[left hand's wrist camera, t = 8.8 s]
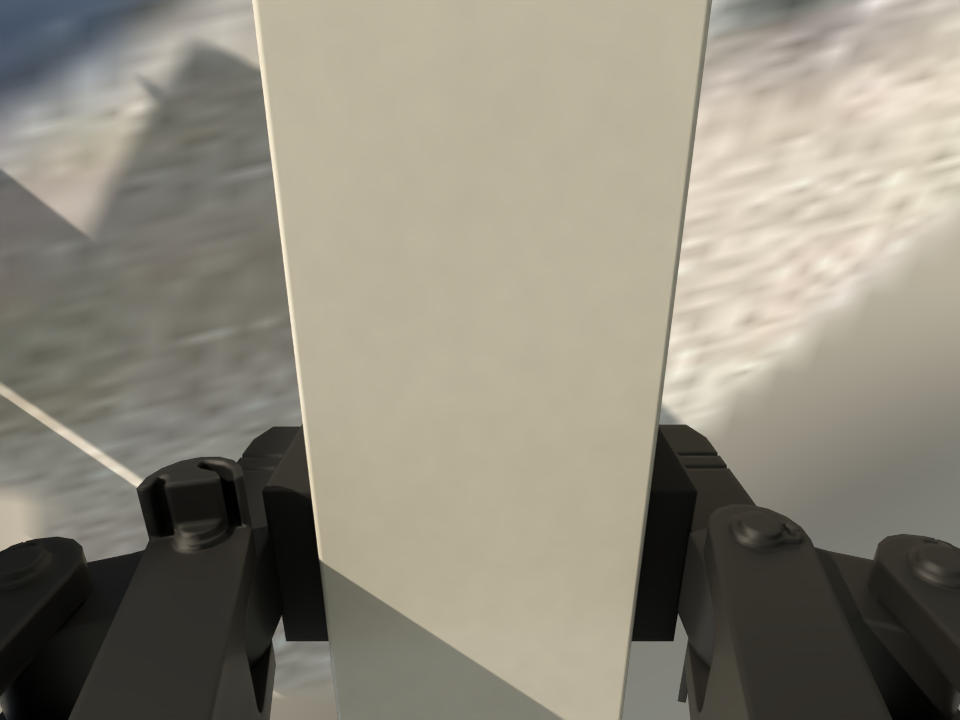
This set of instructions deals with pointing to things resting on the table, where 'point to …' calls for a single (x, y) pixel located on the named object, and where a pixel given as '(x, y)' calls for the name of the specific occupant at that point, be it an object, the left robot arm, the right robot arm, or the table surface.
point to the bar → (481, 331)
